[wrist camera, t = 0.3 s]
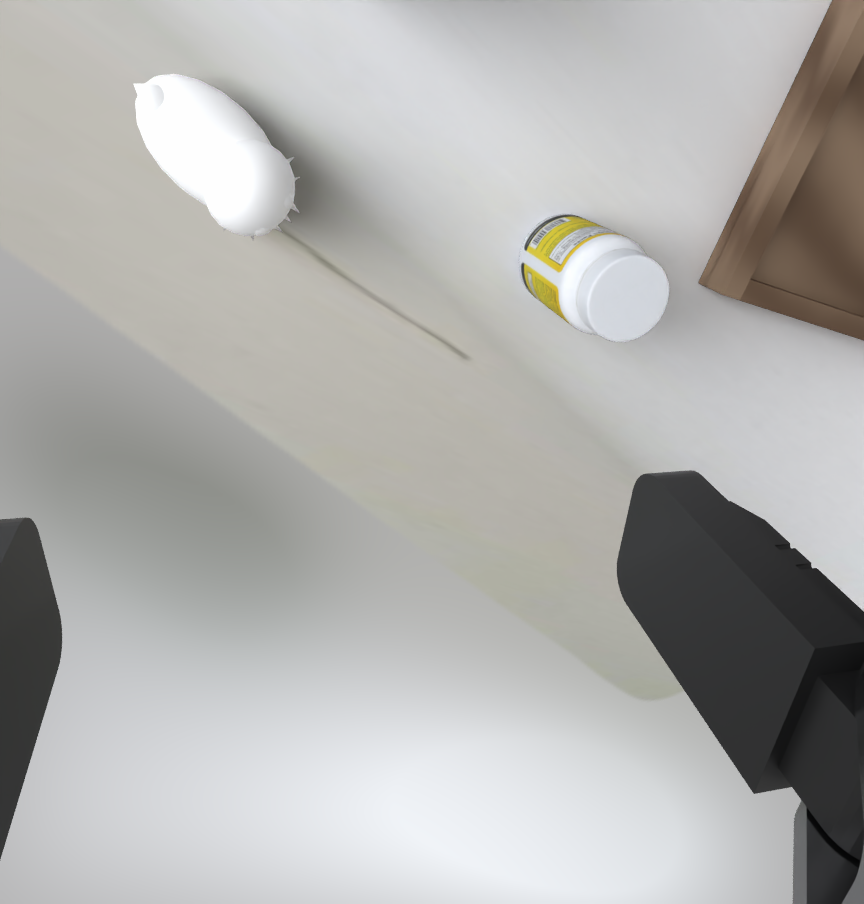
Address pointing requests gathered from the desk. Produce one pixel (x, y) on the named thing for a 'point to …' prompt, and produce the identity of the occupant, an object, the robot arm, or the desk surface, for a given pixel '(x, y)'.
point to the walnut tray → (806, 193)
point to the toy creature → (216, 153)
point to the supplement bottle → (593, 278)
